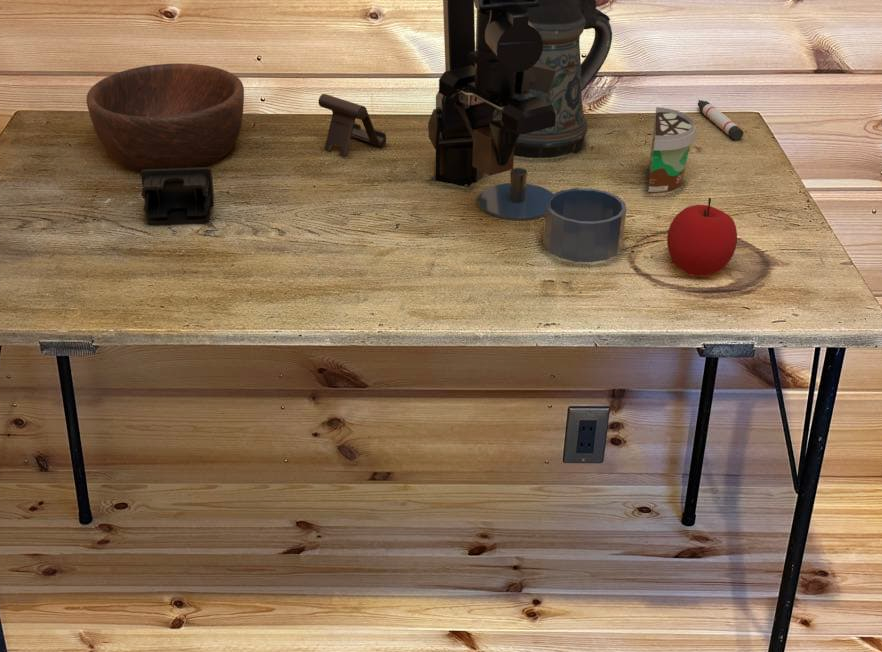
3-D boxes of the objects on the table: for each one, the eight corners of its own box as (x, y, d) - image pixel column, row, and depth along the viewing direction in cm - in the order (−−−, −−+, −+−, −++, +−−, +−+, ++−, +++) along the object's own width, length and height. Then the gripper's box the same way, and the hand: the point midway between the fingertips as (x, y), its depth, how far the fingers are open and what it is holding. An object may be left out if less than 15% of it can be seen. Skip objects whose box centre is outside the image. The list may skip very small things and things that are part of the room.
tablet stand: (387, 145, 195) (386, 96, 191) (355, 160, 191) (353, 110, 186) (348, 132, 200) (346, 84, 195) (315, 146, 195) (313, 97, 191)
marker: (742, 139, 195) (744, 128, 194) (731, 141, 195) (733, 129, 193) (702, 106, 207) (704, 95, 206) (692, 107, 207) (693, 96, 206)
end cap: (215, 202, 179) (210, 160, 175) (212, 223, 173) (207, 180, 169) (148, 204, 179) (142, 162, 175) (143, 226, 173) (137, 183, 169)
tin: (531, 255, 164) (534, 213, 160) (559, 223, 171) (562, 182, 168) (606, 272, 160) (611, 229, 156) (631, 238, 167) (636, 197, 164)
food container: (689, 203, 176) (698, 139, 170) (647, 200, 177) (655, 137, 171) (688, 169, 186) (697, 108, 180) (648, 166, 187) (656, 105, 181)
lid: (465, 214, 174) (466, 179, 171) (496, 184, 183) (497, 149, 179) (539, 230, 170) (541, 194, 167) (567, 198, 178) (570, 163, 175)
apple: (648, 262, 162) (657, 195, 156) (699, 246, 165) (709, 179, 159) (694, 291, 155) (705, 222, 149) (746, 274, 159) (759, 205, 153)
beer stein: (465, 145, 195) (469, -10, 181) (532, 110, 207) (541, -38, 192) (549, 171, 186) (561, 10, 172) (614, 133, 198) (630, -20, 184)
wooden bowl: (99, 189, 183) (88, 126, 177) (92, 129, 203) (82, 70, 197) (259, 171, 188) (254, 109, 182) (237, 114, 208) (232, 56, 202)
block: (472, 165, 162) (473, 129, 159) (495, 159, 163) (497, 123, 161) (489, 176, 159) (490, 139, 156) (513, 169, 161) (515, 132, 158)
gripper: (594, 53, 148) (584, 169, 157) (504, 16, 162) (500, 125, 171) (523, 70, 144) (516, 189, 153) (437, 31, 157) (435, 142, 166)
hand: (493, 159), depth 161 cm, fingers closed on block, 4 cm apart
